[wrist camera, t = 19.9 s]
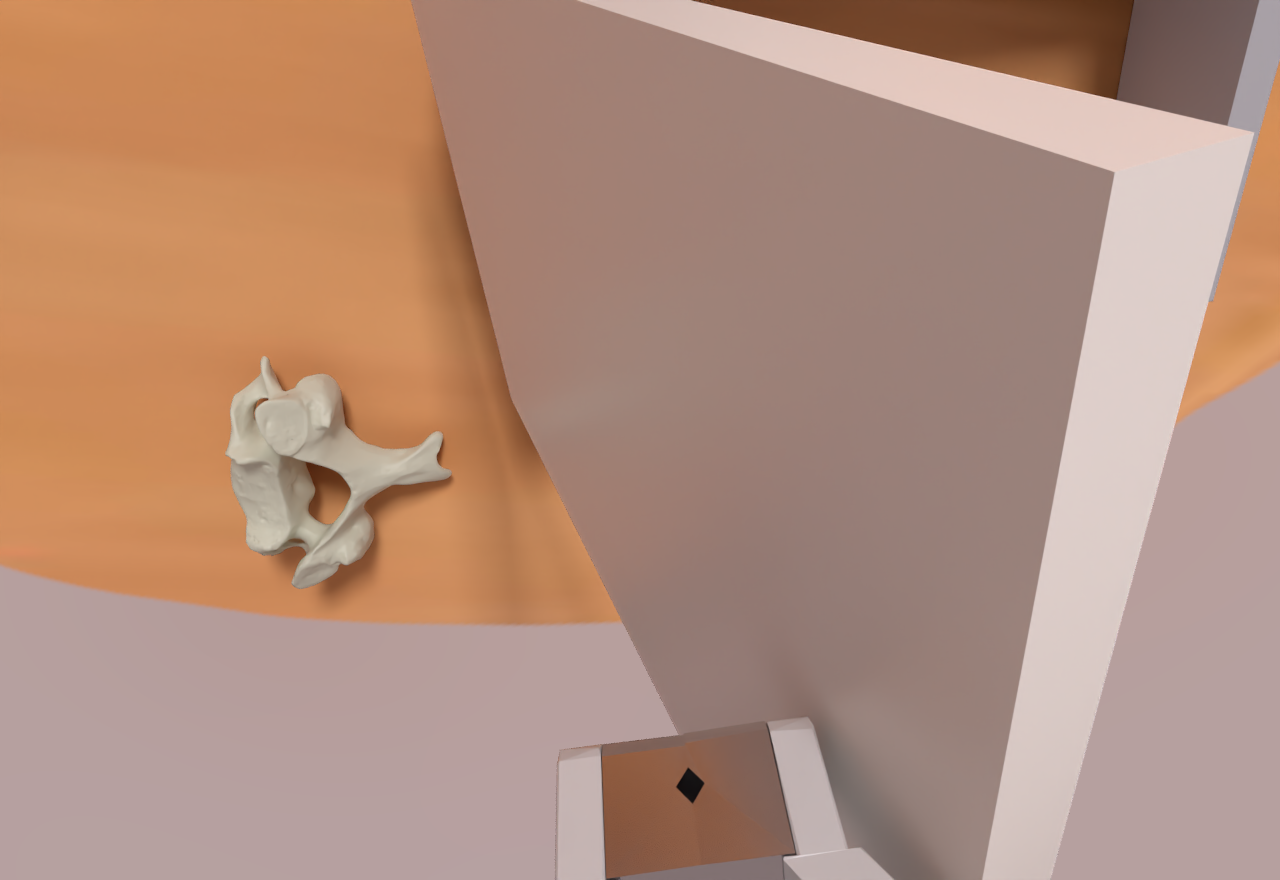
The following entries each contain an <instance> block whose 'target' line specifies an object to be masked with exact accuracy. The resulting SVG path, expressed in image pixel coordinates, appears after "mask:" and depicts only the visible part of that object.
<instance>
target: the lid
mask: <svg viewBox="0 0 1280 880" xmlns="http://www.w3.org/2000/svg"><path fill="white" fill-rule="evenodd" d="M411 2H412V6H413V10H414V14H415V18H416V22H417V26H418V30H419V34H420V38H421V42H422V46H423V50H424V54H425V58H426V62H427V66H428V70H429V74H430V78H431V82H432V86H433V90H434V94H435V98H436V102H437V106H438V109H439V113H440V117H441V121H442V125H443V129H444V133H445V137H446V141H447V145H448V149H449V153H450V157H451V161H452V165H453V169H454V173H455V177H456V181H457V185H458V189H459V193H460V197H461V201H462V205H463V209H464V213H465V217H466V221H467V225H468V229H469V233H470V237H471V241H472V245H473V249H474V253H475V257H476V261H477V265H478V269H479V273H480V277H481V281H482V285H483V289H484V293H485V297H486V301H487V304H488V308H489V312H490V316H491V320H492V324H493V328H494V332H495V336H496V340H497V344H498V348H499V352H500V356H501V360H502V364H503V368H504V372H505V376H506V380H507V384H508V388H509V392H510V396H511V400H512V402H513V404H514V406H515V408H516V410H517V412H518V414H519V416H520V418H521V420H522V422H523V424H524V426H525V428H526V430H527V432H528V434H529V436H530V438H531V440H532V442H533V444H534V446H535V448H536V450H537V452H538V454H539V456H540V458H541V460H542V462H543V464H544V466H545V468H546V470H547V472H548V474H549V476H550V478H551V480H552V482H553V484H554V486H555V488H556V490H557V492H558V494H559V496H560V498H561V500H562V502H563V504H564V506H565V508H566V510H567V512H568V514H569V516H570V518H571V520H572V522H573V524H574V526H575V528H576V530H577V532H578V534H579V536H580V538H581V540H582V542H583V544H584V546H585V548H586V550H587V552H588V554H589V556H590V558H591V560H592V562H593V564H594V566H595V568H596V570H597V572H598V574H599V576H600V578H601V580H602V582H603V584H604V586H605V588H606V590H607V592H608V594H609V596H610V598H611V600H612V602H613V604H614V606H615V608H616V610H617V612H618V614H619V616H620V618H621V620H622V622H623V624H624V626H625V628H626V630H627V632H628V634H629V636H630V638H631V640H632V642H633V644H634V646H635V648H636V650H637V652H638V654H639V656H640V658H641V660H642V662H643V664H644V666H645V668H646V670H647V672H648V674H649V676H650V678H651V680H652V682H653V684H654V686H655V688H656V690H657V692H658V694H659V696H660V698H661V700H662V702H663V704H664V706H665V708H666V710H667V712H668V714H669V716H670V718H671V720H672V722H673V724H674V726H675V728H676V730H677V732H678V734H679V735H684V733H689V732H696V731H702V730H708V729H715V728H721V727H728V726H734V725H741V724H747V723H754V722H760V721H765V723H767V722H771V721H777V720H783V719H789V718H796V717H802V716H808V718H809V719H810V720H811V722H812V723H813V725H814V729H815V732H816V736H817V739H818V743H819V747H820V750H821V754H822V757H823V761H824V764H825V768H826V771H827V775H828V779H829V782H830V786H831V789H832V793H833V796H834V800H835V803H836V807H837V811H838V814H839V818H840V821H841V825H842V828H843V832H844V836H845V839H846V843H847V846H848V848H853V847H862V848H863V849H864V850H865V851H866V852H867V853H868V854H869V855H870V856H871V857H872V858H873V859H874V860H875V861H876V862H877V863H878V864H879V865H880V866H881V867H882V868H883V869H884V870H885V871H886V872H888V873H889V874H890V875H891V876H892V877H893V878H894V879H895V880H1051V876H1052V872H1053V869H1054V865H1055V861H1056V858H1057V854H1058V850H1059V846H1060V843H1061V839H1062V836H1063V831H1064V828H1065V825H1066V821H1067V817H1068V814H1069V810H1070V806H1071V803H1072V799H1073V795H1074V792H1075V788H1076V784H1077V781H1078V777H1079V773H1080V769H1081V766H1082V762H1083V759H1084V755H1085V751H1086V748H1087V744H1088V740H1089V737H1090V733H1091V729H1092V726H1093V722H1094V718H1095V715H1096V711H1097V707H1098V704H1099V700H1100V696H1101V693H1102V689H1103V685H1104V682H1105V678H1106V675H1107V671H1108V667H1109V663H1110V660H1111V656H1112V653H1113V649H1114V645H1115V642H1116V638H1117V634H1118V631H1119V627H1120V623H1121V619H1122V616H1123V612H1124V608H1125V605H1126V601H1127V598H1128V594H1129V590H1130V586H1131V583H1132V579H1133V576H1134V572H1135V568H1136V564H1137V561H1138V557H1139V554H1140V550H1141V546H1142V543H1143V539H1144V535H1145V532H1146V528H1147V524H1148V520H1149V517H1150V513H1151V510H1152V506H1153V502H1154V499H1155V495H1156V491H1157V487H1158V484H1159V480H1160V477H1161V473H1162V469H1163V466H1164V462H1165V458H1166V455H1167V451H1168V447H1169V443H1170V440H1171V436H1172V433H1173V429H1174V425H1175V422H1176V418H1177V414H1178V411H1179V407H1180V403H1181V400H1182V396H1183V392H1184V389H1185V385H1186V381H1187V378H1188V374H1189V370H1190V367H1191V363H1192V359H1193V356H1194V352H1195V348H1196V345H1197V341H1198V337H1199V334H1200V330H1201V326H1202V323H1203V319H1204V315H1205V312H1206V308H1207V304H1208V301H1209V297H1210V294H1211V290H1212V286H1213V283H1214V279H1215V275H1216V272H1217V268H1218V264H1219V261H1220V257H1221V253H1222V250H1223V246H1224V242H1225V239H1226V235H1227V231H1228V228H1229V224H1230V220H1231V217H1232V213H1233V209H1234V206H1235V202H1236V198H1237V195H1238V191H1239V187H1240V184H1241V180H1242V176H1243V173H1244V169H1245V165H1246V162H1247V158H1248V154H1249V151H1250V147H1251V143H1252V140H1253V136H1254V132H1251V131H1246V130H1242V129H1238V128H1233V127H1229V126H1225V125H1221V124H1216V123H1212V122H1208V121H1204V120H1199V119H1195V118H1191V117H1187V116H1182V115H1178V114H1174V113H1169V112H1165V111H1161V110H1157V109H1152V108H1148V107H1144V106H1140V105H1135V104H1131V103H1127V102H1123V101H1118V100H1114V99H1110V98H1105V97H1101V96H1097V95H1093V94H1088V93H1084V92H1080V91H1076V90H1071V89H1067V88H1063V87H1059V86H1054V85H1050V84H1046V83H1041V82H1037V81H1033V80H1029V79H1024V78H1020V77H1016V76H1012V75H1007V74H1003V73H999V72H995V71H990V70H986V69H982V68H977V67H973V66H969V65H965V64H960V63H956V62H952V61H948V60H943V59H939V58H935V57H931V56H926V55H922V54H918V53H914V52H909V51H905V50H901V49H896V48H892V47H888V46H884V45H879V44H875V43H871V42H867V41H862V40H858V39H854V38H850V37H845V36H841V35H837V34H832V33H828V32H824V31H820V30H815V29H811V28H807V27H803V26H798V25H794V24H790V23H786V22H781V21H777V20H773V19H768V18H764V17H760V16H756V15H751V14H747V13H743V12H739V11H734V10H730V9H726V8H722V7H717V6H713V5H709V4H704V3H700V2H696V1H692V0H411Z"/></svg>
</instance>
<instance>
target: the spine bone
mask: <svg viewBox="0 0 1280 880" xmlns="http://www.w3.org/2000/svg"><path fill="white" fill-rule="evenodd" d="M260 365H261V374H260V375H259V376H258V377H257V378H256V379H255V380H254V381H253V382H252V383H250V384H249V385H248V386H246V387H245V388H244V389H243V390H241V391H240V392H238V393H237V394H235V395H234V398H233V400H232V404H231V408H230V418H231V436H230V442H229V445H228V448H227V450H226V452H225V454H226V456H228V457H230V458H231V459H232V460H231V481H232V488H233V490H234V493H235V495H236V497H237V500H238V501H239V504H240V506H241V507H242V509H243V511H244V513H245V515H246V518H247V527H246V543H247V544H248V546H249V548H250V549H251V550H253V551H256V552H258V553H260V554H261V555H264V556H265V555H272V556H273V555H276V554H279V553H281V552H283V551H284V550H285V549H287V548H290V547H294V546H299V547H302V548H303V549H304V550H305V551H306V554H307V555H306V556H305V557H304V558H303V559H302V560H301V561H300V562H299V564H298V566H297V569H296V571H295V574H294V577H293V580H292V585H293V586H294V587H296V588H298V589H302V588H307V587H310V586H314V585H316V584H318V583H320V582H322V581H323V580H325V579H327V578H328V577H330V576H332V575H333V574H334V573H335V572H336V571H337V570H338V567H339V565H340V564H343V565H350V564H351V563H353V562H355V561H356V560H360V559H361V558H362V557H363V555H364V554H365V552H366V551H367V550H368V549H369V547H370V545H371V543H372V541H373V539H374V522H373V519H372V518H371V516H370V515H369V514H368V513H367V512H366V510H365V509H364V505H365V503H366V502H367V501H368V500H369V499H370V498H371V497H373V496H374V495H376V494H378V493H379V492H381V491H383V490H384V489H386V488H388V487H389V486H391V485H410V484H416V483H423V482H430V481H439V480H444V479H447V478H449V477H450V476H451V474H452V471H451V470H449V469H444V468H442V467H441V466H440V465H439V464H438V462H437V453H438V452H439V450H440V447H441V444H442V440H443V434H442V433H441V432H440V431H436V432H434V433H432V434H430V435H429V436H428V437H427V438H426V440H425V441H424V442H423V443H421V444H420V445H418V446H415V447H412V448H406V449H384V448H381V447H378V446H375V445H371V444H367V443H365V442H364V441H362V440H360V439H359V438H358V437H357V436H356V435H355V434H354V433H353V431H352V430H350V429H349V428H347V426H346V425H345V417H344V412H343V402H342V394H341V390H340V387H339V385H338V384H337V382H336V381H335V379H333V378H332V377H331V376H329V375H326V374H315V375H311V376H307V377H304V378H303V379H301V380H300V381H299V382H298V383H297V385H296V387H295V388H293V389H291V390H288V391H283V390H282V388H281V386H280V384H279V382H278V380H277V377H276V375H275V373H274V371H273V369H272V367H271V365H270V361H269V359H268V358H267V357H266V356H263V357H262V359H261V361H260ZM262 398H268V400H267V401H265V402H263V403H261V404H260V405H259V406H258V407H257V408H256V404H257V402H258V400H259V399H262ZM255 408H256V410H255ZM254 411H255V419H254ZM306 462H310V463H313V464H316V465H320V466H323V467H326V468H329V469H332V470H334V471H336V472H337V473H339V474H340V475H341V476H342V477H343V478H344V480H345V481H346V482H347V484H348V485H349V487H350V489H351V496H350V499H349V500H348V502H347V504H346V506H345V508H344V510H343V512H342V513H341V514H340V516H339V517H338V518H337V519H336V521H335V522H334V523H332V524H323V523H321V522H319V521H317V520H316V519H314V518H313V517H312V516H311V515H310V514H309V504H310V502H311V500H312V499H313V497H314V494H315V487H314V484H313V482H312V479H311V476H310V473H309V471H308V469H307V466H306Z"/></svg>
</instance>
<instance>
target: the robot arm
mask: <svg viewBox="0 0 1280 880" xmlns="http://www.w3.org/2000/svg"><path fill="white" fill-rule="evenodd" d="M556 790H557V791H556V849H555V880H895V879H894V878H893V877H892V876H891V875H890V874H889V873H888V872H886V871H885V870H884V869H883V868H882V867H881V866H880V865H879V864H878V863H877V862H876V861H875V860H874V859H873V858H872V857H871V856H870V855H869V854H868V853H867V852H866V851H865V850H864V849H863V848H862V847H853V848H848V846H847V843H846V839H845V836H844V832H843V828H842V825H841V821H840V818H839V814H838V811H837V807H836V803H835V800H834V796H833V793H832V789H831V786H830V782H829V779H828V775H827V771H826V768H825V764H824V761H823V757H822V754H821V750H820V747H819V743H818V739H817V736H816V732H815V729H814V725H813V723H812V722H811V720H810V719H809V718H808V716H802V717H796V718H789V719H783V720H777V721H771V722H767V723H765V721H760V722H754V723H747V724H741V725H734V726H728V727H721V728H715V729H708V730H702V731H696V732H689V733H684V735H678V736H669V737H661V738H653V739H644V740H636V741H629V742H620V743H611V744H603V745H602V744H600V745H593V746H585V747H579V748H571V749H564V750H560V753H559V757H558V762H557V789H556Z"/></svg>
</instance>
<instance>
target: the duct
mask: <svg viewBox="0 0 1280 880" xmlns="http://www.w3.org/2000/svg"><path fill="white" fill-rule="evenodd" d="M1279 60H1280V0H1134V5H1133V10H1132V16H1131V21H1130V27H1129V32H1128V38H1127V44H1126V49H1125V55H1124V60H1123V66H1122V71H1121V77H1120V82H1119V88H1118V94H1117V99H1116V100H1118V101H1123V102H1127V103H1131V104H1135V105H1140V106H1144V107H1148V108H1152V109H1157V110H1161V111H1165V112H1169V113H1174V114H1178V115H1182V116H1187V117H1191V118H1195V119H1199V120H1204V121H1208V122H1212V123H1216V124H1221V125H1225V126H1229V127H1233V128H1238V129H1242V130H1246V131H1251V132H1254V136H1253V140H1252V143H1251V147H1250V151H1249V154H1248V158H1247V162H1246V165H1245V169H1244V173H1243V176H1242V180H1241V184H1240V187H1239V191H1238V195H1237V198H1236V202H1235V206H1234V209H1233V213H1232V217H1231V220H1230V224H1229V228H1228V231H1227V235H1226V239H1225V242H1224V246H1223V250H1222V253H1221V257H1220V261H1219V264H1218V268H1217V272H1216V275H1215V279H1214V283H1213V286H1212V290H1211V294H1210V297H1209V301H1213V299H1214V295H1215V291H1216V288H1217V284H1218V281H1219V277H1220V273H1221V270H1222V266H1223V262H1224V259H1225V255H1226V252H1227V248H1228V244H1229V241H1230V237H1231V234H1232V230H1233V226H1234V223H1235V219H1236V215H1237V212H1238V208H1239V205H1240V201H1241V197H1242V194H1243V190H1244V186H1245V183H1246V179H1247V176H1248V172H1249V168H1250V165H1251V161H1252V157H1253V154H1254V150H1255V147H1256V143H1257V139H1258V136H1259V132H1260V129H1261V125H1262V121H1263V118H1264V114H1265V110H1266V107H1267V103H1268V100H1269V96H1270V92H1271V89H1272V85H1273V81H1274V78H1275V74H1276V71H1277V67H1278V63H1279ZM1209 301H1208V302H1209Z"/></svg>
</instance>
